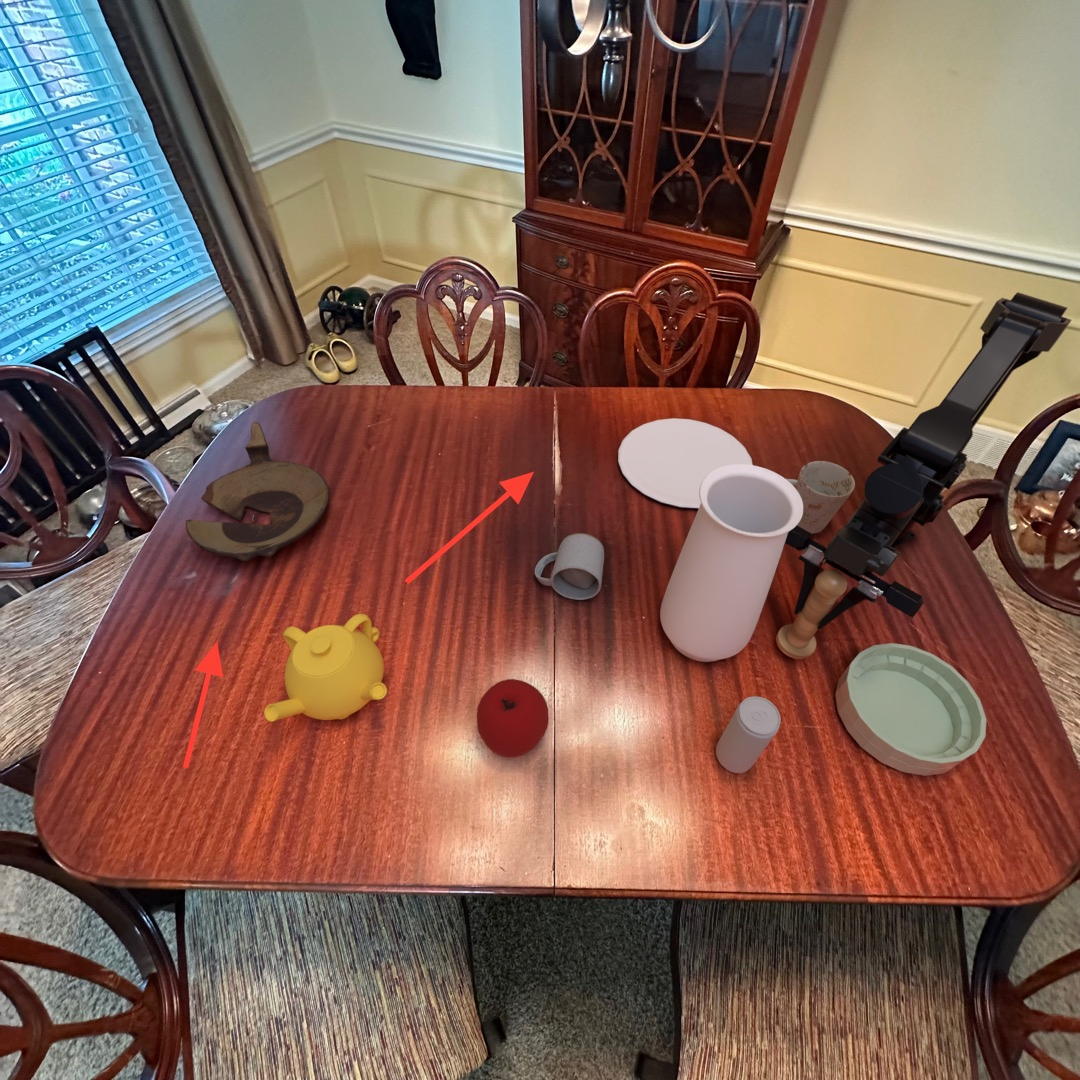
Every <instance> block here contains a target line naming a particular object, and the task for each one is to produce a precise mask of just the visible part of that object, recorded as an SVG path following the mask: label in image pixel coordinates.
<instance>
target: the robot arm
mask: <svg viewBox="0 0 1080 1080" xmlns="http://www.w3.org/2000/svg"><path fill="white" fill-rule="evenodd" d="M1067 310H1068V306H1064V305H1061V304H1057V303H1054V302H1050V301H1048V300H1044V299H1041V298H1038V297H1035V296H1032V295H1029V294H1025V293H1021V292H1019V291H1018V292H1016V293H1015V294H1014V295H1013V297H1012V298H1011V299H1009V298H1004V297H1001V298H999V299H998V300H996V301H995V303H994V304H993V306H992V307H991V309H990V312H989V313H988V314H987V316H986V317H985V319H984V320H983V322H982V324H981V325H980V327H979V329H980V330H981V331H982V332H983V334H982V336H981V348H980V349H979V350H978V352H977V353H976V355H975V356H974V357H973V359H972V360H971V361H970V363H969V364H968V365H967V367H966V368H965V369H964V371H963V372H962V373H961V374H960V376H959V378H958V379H957V381H955V383H954V384H953V386H952V387H951V388H950V390H949V391H948V393H947V394H946V395H945V397H944V398H943V399H942V401H941V402H940V403H939V405H937V406H934V407H932V408H929V409H928V410H927V409H926V410H925V411H922V412H920V413H919V415H918V416H917V417H916V418H915V419H914V421H913V422H912V423H911V424H910V426H909V427H908V428H907V427H906V426H904V427H902V428H901V430H900V431H898V433H897V434H896V435H895V437H894V438H892V440H891V442H889V444H888V445H887V446H886V447H885V448H884V449H883V451H882V452H881V453H880V454H879V455H878V457H877V463H879V464H881V466H879V467H877V468H876V469H875V470H873V471H872V472H871V473H870V474H869V475H868V476H867V479H866V481H865V483H864V489H863V490H864V498H863V500H862V501H861V503H860V504H859V506H858V507H857V508H856V510H855V511H854V513H853V514H852V515H851V517H850V518H849V520H848V521H847V523H846V524H845V525H844V526H843V527H842V528H841V529H839V530H838V531H837V532H836V533H835V535H834V536H833V537H832V539H831V540H830V542H829V543H828V544H827V546H825V545H823V544H821V543H819V542H817V541H816V540H814V539H815V537H816V536H815V535H814V533H810V532H808V531H806V530H804V529H803V528H801V527H799V526H797V525H796V526H795V527H794V528H793V529H792V530H790V531H789V532H788V534H787V538H786V541H785V545H787V546H790V547H791V548H793V549H794V550H797V551H798V552H799V551H803V552H802V554H801V555H799V556H798V561H801V562H803V575H802V583H801V586H800V591H799V592H798V597H797V601H796V605H795V608H794V611H793V614H794V615H796V616H798V614H799V612H800V611H801V609H802V607H803V605H804V603H805V602H806V600H807V598H808V596H809V595H810V593H811V591H812V590H813V588H814V586H815V580H816V577H817V576H818V575H819V574H820V573H821V572H823V571H825V568H824V567H822V566H823V565H824V566H825V565H826V564H827V565H829V566H831V567H833V568H834V569H835V570H837V571H839V572H840V573H842V574H843V575H846V576H848V577H850V578H851V579H853V580H854V581H856V582H858V583H857V585H858V586H857V587H856V586H852V587H851V588H850V590H849V591H848V592H847V593H846V594H845V595H844V596H843V597H842V599H840V601H839V602H838V603H837V604H836V605H835V606H834V607H832V608H831V609H830V611H829V612H828V614H827V615H826V616H825V618H824V619H823V620H822V621H821V623H820V624H819V626H818V627H817V629H818V630H822V629H823V628H825V627H826V626H827V625H828V624H830V623H832V622H833V621H834V620H835V619H836V618H838V617H840V616H841V615H842V614H844V613H845V612H847V611H848V610H849V609H851V608H853V607H855V606H857V605H858V604H861V603H863V602H864V601H869V602H870V603H871V604H875V603H876V602H877V598H880V597H881V596H882V597H884V598H885V601H886V603H887V604H888V605H890V606H892V607H893V608H895V609H897V610H898V611H899V612H901V613H903V614H905V615H907V616H908V617H910V618H911V619H913V618H914V617H915V616H916V614H917V613H918V612H919V610H920V609H921V608H922V607H923V605H924V602H925V601H924V597H923V595H921V594H919V593H918V592H916V591H914V590H912V589H911V588H909V587H907V586H905V585H903V584H902V583H900V582H898V581H897V580H894V581H893V582H892V583H889V582H888V581H886V580H884V579H882V577H884V576H885V575H886V574H887V573H888V571H889V570H890V568H891V567H892V565H893V564H894V562H895V561H896V560H897V558H898V557H899V555H900V554H901V551H899V550H897V549H896V547H899V546H901V545H903V544H905V543H908V542H910V541H912V540H914V539H915V538H916V534H915V533H914V532H912V531H911V530H912V528H913V526H914V525H915V524H916V523H917V524H919V526H921V527H924V526H925V525H927V524H929V523H934V521H935V520H936V519H937V517H938V515H939V514H940V513H941V512H942V510H943V508H944V505H943V503H944V498H945V496H944V495H942V493H943V491H944V489H947V490H951V487H953V485H954V483H955V482H956V481H957V479H958V478H959V477H960V476H961V475H962V473H963V471H965V469H966V467H967V464H966V461H967V459H968V457H967V456H968V454H967V453H964V450H965V449H966V447H967V446H968V444H969V442H970V441H971V440H972V438H973V436H974V432H973V431H974V430H973V429H974V428H975V426H976V425H977V423H978V422H979V420H980V419H981V417H982V416H983V415H984V414H985V412H986V411H987V409H988V408H989V406H990V404H991V403H992V402H993V400H994V399H995V398H996V396H997V395H998V393H999V392H1000V390H1001V389H1002V388H1003V386H1004V385H1005V384H1006V382H1007V381H1008V379H1009V378H1010V376H1011V375H1012V373H1013V372H1014V371H1015V370H1017V369H1019V368H1020V367H1022V366H1024V365H1026V364H1028V363H1029V362H1031V361H1033V360H1034V359H1036V358H1038V357H1039V356H1040V355H1041V354H1042V353H1043V352H1046V353H1048V352H1050V351H1051V349H1052V348H1053V347H1054V346H1055V344H1056V343H1057V342H1058V340H1059V339H1060V338H1061V336H1062V335H1063V333H1064V332H1065V331H1066V329H1067V328H1068V326H1069V325H1070V324H1071V322H1072V319H1071V318H1068V317H1065V316H1064V314H1065V313H1066V311H1067ZM873 573H874V574H873ZM875 574H876V575H875ZM877 575H878V576H877ZM880 577H881V578H880Z"/></svg>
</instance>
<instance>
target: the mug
mask: <svg viewBox="0 0 1080 1080" xmlns="http://www.w3.org/2000/svg"><path fill="white" fill-rule="evenodd" d="M785 479H786V480H787V481H789V482H790V483H791V484H792V485H793V486H794V487H795V489H796V490H797V491H798V493H799V495H800V497H801V499H802V502H803V515H802V518H801V520H800V522H799V523H798V524H797V526H799V527H801V528H803V529H804V530H806V531H808V532H810V533H811V534H818V533H821V532H822V531H823V530H825V528H826V527H827V526H828V524H829V523H830V522H831V521H832V519H833V518H834V517H835V515H836V514H837V513H838V511H839V510H840V509H841V507H843V505H844V504H845V502H846V501H847V500H848V499H849V497H850V496H851V495H852V493H853V492H854V490H855V487H856V482H855V479H854V476H853V475H852V474H851V473H850V471H848V470H847V469H846V468H844V467H842V466H841V465H839V464H838V463H837V464H836V463H834V462H830V461H826V460H824V461H823V460H816V461H811V462H808V463H806V464H804V465H803V466H802V468H801V469H800V471H799V475H798V478H797V479H794V478H793V479H792V478H785Z"/></svg>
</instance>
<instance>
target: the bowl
mask: <svg viewBox="0 0 1080 1080" xmlns="http://www.w3.org/2000/svg"><path fill="white" fill-rule="evenodd" d="M835 701H836V702H835V703H836V708H837V713H838V715H839V717H840V719H841V721H842V723H843V725H844V727H845V729H846V731H847V732H848V734H849V735H850V736H851V737H852V738H853V739H854V741H855V742H856V743H857V744H858V746H859V747H860V748H861V749H863V750H864V751H865V752H866V753H868V754H869V755H870V756H872V757H873V758H875V759H876V760H877V761H879V762H880V763H882V764H884V765H886V766H888V767H889V768H890V767H891V768H892V769H895V770H897V771H899V772H902V773H906V774H912V775H918V776H925V777H927V776H935V775H941V774H945V773H947V772H949V771H951V770H952V769H953V768H955V767H957V766H959V765H960V764H962V763H963V762H964V761H966V760H968V758H970V757H972V756H973V755H974V754H975V753H977V752H978V750H979V749H980V747H981V746H982V744H983V742H984V740H985V739H986V736H987V735H986V734H987V715H986V713H985V710H984V707H983V705H982V701H981V699H980V697H979V696H978V695H977V693H976V691H975V690H974V688H973V687H972V685H971V684H970V682H969V681H968V680H967V679H966V678H965V677H964V676H962V675H961V673H960V672H958V671H957V670H956V669H955V667H953V666H952V665H951V664H949V663H948V662H946V661H944V660H943V659H942V658H940V657H938V656H937V655H935V654H933V653H931V652H929V651H926V650H924V649H921V648H919V647H917V646H916V647H915V646H912V645H908V644H902V643H894V642H889V643H881V644H874V645H871V646H869V647H867V648H865V649H864V650H861V651H860V652H859V653H858V654H857V655H855V657H854V659H853V660H852V661H851V662H850V664H848V666H847V667H846V669H845V670H844V671H843V672H842V674H841V676H840V677H839V678H838V680H837V684H836V689H835Z"/></svg>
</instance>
